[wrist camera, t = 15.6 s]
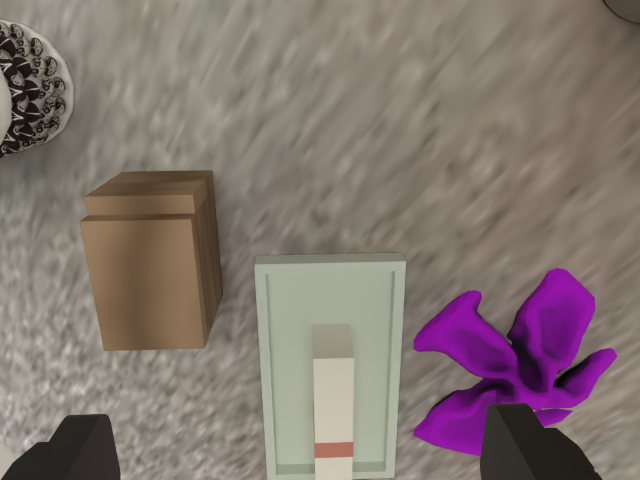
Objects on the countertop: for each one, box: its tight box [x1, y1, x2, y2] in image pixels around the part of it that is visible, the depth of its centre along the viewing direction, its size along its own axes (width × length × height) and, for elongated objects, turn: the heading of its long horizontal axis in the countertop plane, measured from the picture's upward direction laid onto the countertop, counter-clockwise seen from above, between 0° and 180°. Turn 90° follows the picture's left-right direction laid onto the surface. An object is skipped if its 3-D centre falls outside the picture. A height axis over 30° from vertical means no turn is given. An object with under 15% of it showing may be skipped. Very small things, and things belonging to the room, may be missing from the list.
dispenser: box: [80, 171, 223, 351], centre depth 35 cm, size 7×10×8 cm, turn 1°
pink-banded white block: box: [312, 323, 354, 480], centre depth 41 cm, size 3×14×5 cm, turn 0°
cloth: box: [414, 268, 617, 456], centre depth 42 cm, size 22×19×6 cm
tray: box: [254, 253, 406, 480], centre depth 42 cm, size 12×22×2 cm, turn 1°
